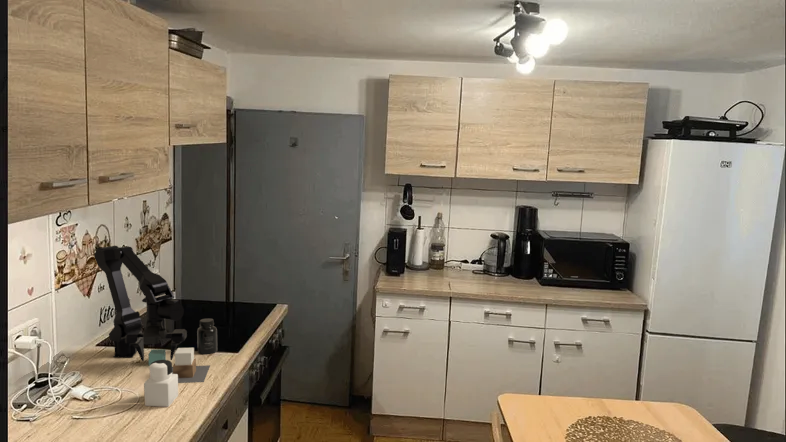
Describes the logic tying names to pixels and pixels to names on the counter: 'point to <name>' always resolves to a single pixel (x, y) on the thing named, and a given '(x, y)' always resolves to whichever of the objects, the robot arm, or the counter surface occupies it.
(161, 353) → the teal cube
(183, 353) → the tower mid
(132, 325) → the robot arm
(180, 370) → the tower base
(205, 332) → the supplement bottle
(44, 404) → the counter surface
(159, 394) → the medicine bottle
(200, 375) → the mat
